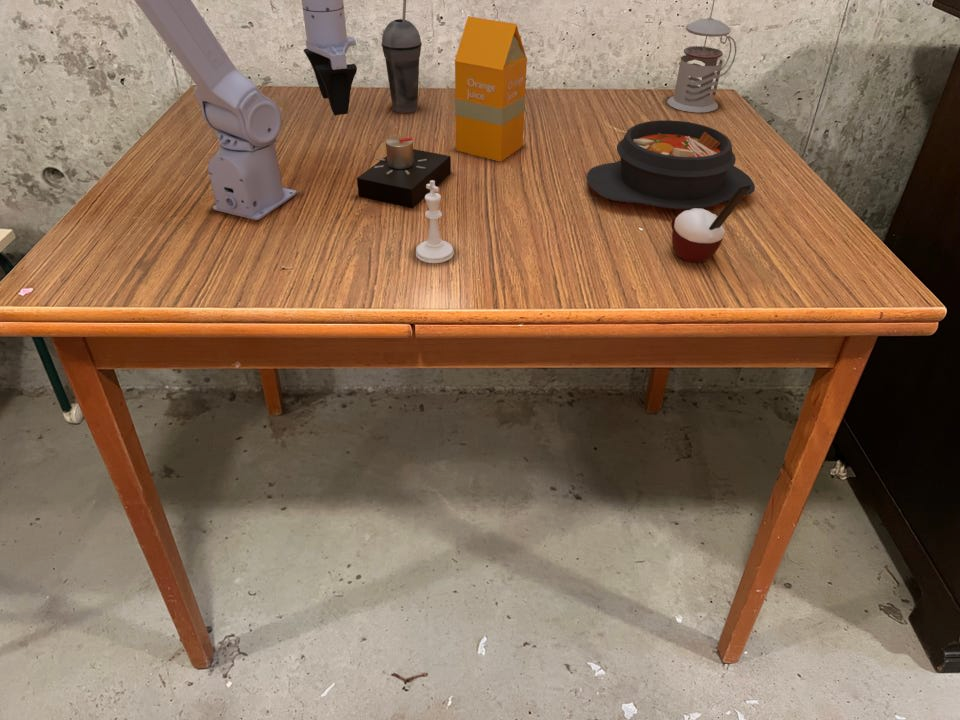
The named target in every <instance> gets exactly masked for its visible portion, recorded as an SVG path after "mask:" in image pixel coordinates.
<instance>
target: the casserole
mask: <svg viewBox="0 0 960 720" xmlns="http://www.w3.org/2000/svg"><path fill="white" fill-rule="evenodd" d="M616 152H617V154H618V156H619V158H620V160H618V161H614V162H609V163H602V164H599V165H595V166H593V167H591V168H590V169H589V170H588V172H587V174H586V181H587V184H588V185H589V187H590V188H591V189H592V190H593V191H594V192H596V193H597V194H598V195H600V196H602V197H604V198H606V199H607V200H611V201H615V202H621V203H628V204H629V203H630V204H642V205H646V206H653V207H657V208H664V209H672V210H691V209H694V208H698V209H704V208H709V207H713V206H717V205H719V204H722V203H725V202H726V201H730V199H731V198H732V197H733V195H734V194H735V193H736V191H737V190H738V189H739V187H741V186H745V185H751V187H750V189H749V190H748V192H747V193H746V194H745V196H749V195H751V194H753V193H754V192H755V189H756V186H755V183H754V181H753V180H752V178H751V177H750V176H749V175H748V174H747V173H746V172H744V171H743V170H742V169H740V168H738V167H737V166H735V164H736V161H737V158H736V154H735V153H734V151H733V145H732V141H731V140H730V138H729V137H728V136H727V135H726V134H724V133H722V132H721V131H719V130H717V129H715V128H712V127H710V126H706V125H703V124H700V123H695V122H691V121H684V120H672V119H671V120H670V119H669V120H663V119H661V120H650V121H644V122H640V123H637V124H635V125H632V126H631V127H630V128H628V129H627V131H626V132H625V134H624V137H623V138H622V139H621V140H619V142H618V143H617V145H616ZM745 196H744V197H745Z"/></svg>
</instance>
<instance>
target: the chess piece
mask: <svg viewBox="0 0 960 720" xmlns="http://www.w3.org/2000/svg"><path fill="white" fill-rule="evenodd" d="M426 188H427V189H430V193H428V194H426V195H425V198H424V200H425V203H426V205H427V208H428V210H426V211H425V213H424V217H425V218H427V219H429V225H428V234H427V235H428V236H427V239H426V240H424V241H421V242H420V243H419V244H418V245H416V250H415V256H416V258H417V259H418V260H419V261H420V262H423V263H428V264H441V263H445V262H447V261H450V260H451V259H452V258H453V257H454V254H455V251H454V247H453V245H452V244H451V243H450V242H448V241H446V240H443V239H442V238H441V233H440V228H439V218H440V219H441V217H442V216H443V213H442V211H441V210H440V209H439V207H440V202H441V200H442V195H441V194H440V193H438V192H439V191H440V187H438V186H437V187H436V186H435V181H433V180H431V181H430V184H427V185H426Z"/></svg>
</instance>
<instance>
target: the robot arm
mask: <svg viewBox="0 0 960 720" xmlns="http://www.w3.org/2000/svg"><path fill="white" fill-rule="evenodd" d="M134 2H135V3H136V5H137V6H138V7H139V9H140V10H141V11H142V13H143V14H144V16H145V17H146V19H147V20H148V21H149V23H150V24H151V25H152V26H153V28H154V29H155V31H156V32H157V33H158V35H159V36H160V37H161V39H162V40H163V42H164V43H165V44H166V45H167V47H168V48H169V50H170V51H171V52H172V54H173V55H174V56H175V58H176V59H177V60H178V62H179V63H180V64H181V66H182V67H183V69H184V70H185V71H186V73H187V74H188V75H189V77H190V78H191V80H192V81H193V82H194V84H195V87H194V89H193V96H194V98H195V99H196V100H197V102H198V103H199V106H200V109H201V114H202V118H203V120H204V121H205V123H206V125H208V127H210V128H211V129H212V130H214V131H215V134H216V139H217V140H218V142H219V147H218V150H217V152H216V153H215V155H214V156H212V157H211V158H210V159H209V161H208V164H207V172H208V177H209V181H210V184H211V188H212V192H213V196H214V200H215V204H214V205H213V206H212V209H213V211H217V212H220V213H224V214H229V215H232V216H237V217H241V218H246V219H248V220H249V219H250V220H254V221H259V220H261V219H262V218H264V217H266V216H267V215H269V214H270V213H272V212H273V211H274V210H275V209H277V208H279V207H281V206H282V205H283V204H285V203H286V202H287V201H289V200H290V199H292V198H294V196H296V195H297V194H298V192H297V190H295V189H290V188H286V187H284V186H283V181H282V175H281V170H280V165H279V164H280V163H279V159H278V154H277V153H278V152H277V148H276V143H277V142H278V141H277V138H278V136H279V134H280V132H281V129H282V123H283V117H282V112H281V110H280V106H278V104H277V103H276V102H275V101H274V100H272V99H271V98H270V97H267V96H265V95H264V94H263V93H262V91H261V90H260V88H259V87H258V85H257V84H255V83H254V82H253V81H252V80H251V79H249V78H248V77H247V76H246V75H244V74H243V73H242V72H241V71H240V70H238V69H237V68H236V66H235V65H234V63H233V61H232V60H231V59H230V57H229V56H228V54H227V53H226V51H225V50H224V47H223V46H222V45H221V43H220V42H219V40H218V39H217V37H216V35H215V34H214V32H213V30H211V28H210V26H209V25H208V24H207V22H206V20H205V19H204V18H203V16H202V15H201V13H200V12H199V10H198V8H197V7H196V5H195V4H194V2H193V1H192V0H134ZM301 7H302V15H303V22H304V31H305V37H306V40H305V47H306V48H304V49H303V53H304V54H305V56H306V58H307V60H308V61H309V63H310V66H311V67H312V70H313V72H314V76H315V79H316V82H317V85H318V88H319V91H320V94H321V97H322V98H323V99H324V100H325V99H328V102H329V106H330V109H331V112H332V113H333V115H334V116H341V115H348V113H349V109H350V101H351V100H350V97H351V91H352V85H353V83H354V79H355V76H356V74H357V71H358V66H357V65H356V63H349V64H348V63H347V56H346V54H347V52H348V50H349V48H350V47H353V46H356V45H357V40H356V38H355V37H353V36H349V37H348V34H347V24H346V23H347V22H346V13H345V3H344V0H301Z"/></svg>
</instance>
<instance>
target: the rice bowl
mask: <svg viewBox="0 0 960 720" xmlns="http://www.w3.org/2000/svg"><path fill="white" fill-rule="evenodd" d="M750 187H751V185H745V186H741V187H739V189H738V190H737V191H736V193H735V194H734V195H733V197H732V198H731V199H729V200H728V202H727V203H726V205H725V206H724V207H723V208H722V210H721V211H720V212H719V214H718V215H717V214H714V213H712V212H711V211H709V210H708V209H707V210H706V209H704V208H694V209H684V211H682V212H681V213H679V214H678V215H677V216H676V217H673V218H672V220H671V224H670V225H671V246H672V249H673V252H674V253H675V254H676V256H678V257H679V258H680V259H682V260H683V261H686V262H690V263H702V262H706V261H708V260H710V259H711V258H713V256H714V255H715V254H716V252H717V251H718V250H719V248H720V247H721V244H722V242H723V239H724V237H725V236H726V233H727V231H726V230H725V228H724V226H723V224H724V223H725V221H726V220H727V219H728V217H729V216H730V215H731V213H733V211H734V210H735V209H736V208H737V207H738V205H739V204H740V202H741V201H742V200H743V198H744V197H745V194H746V193H747V192H748V190H749V189H750Z"/></svg>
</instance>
